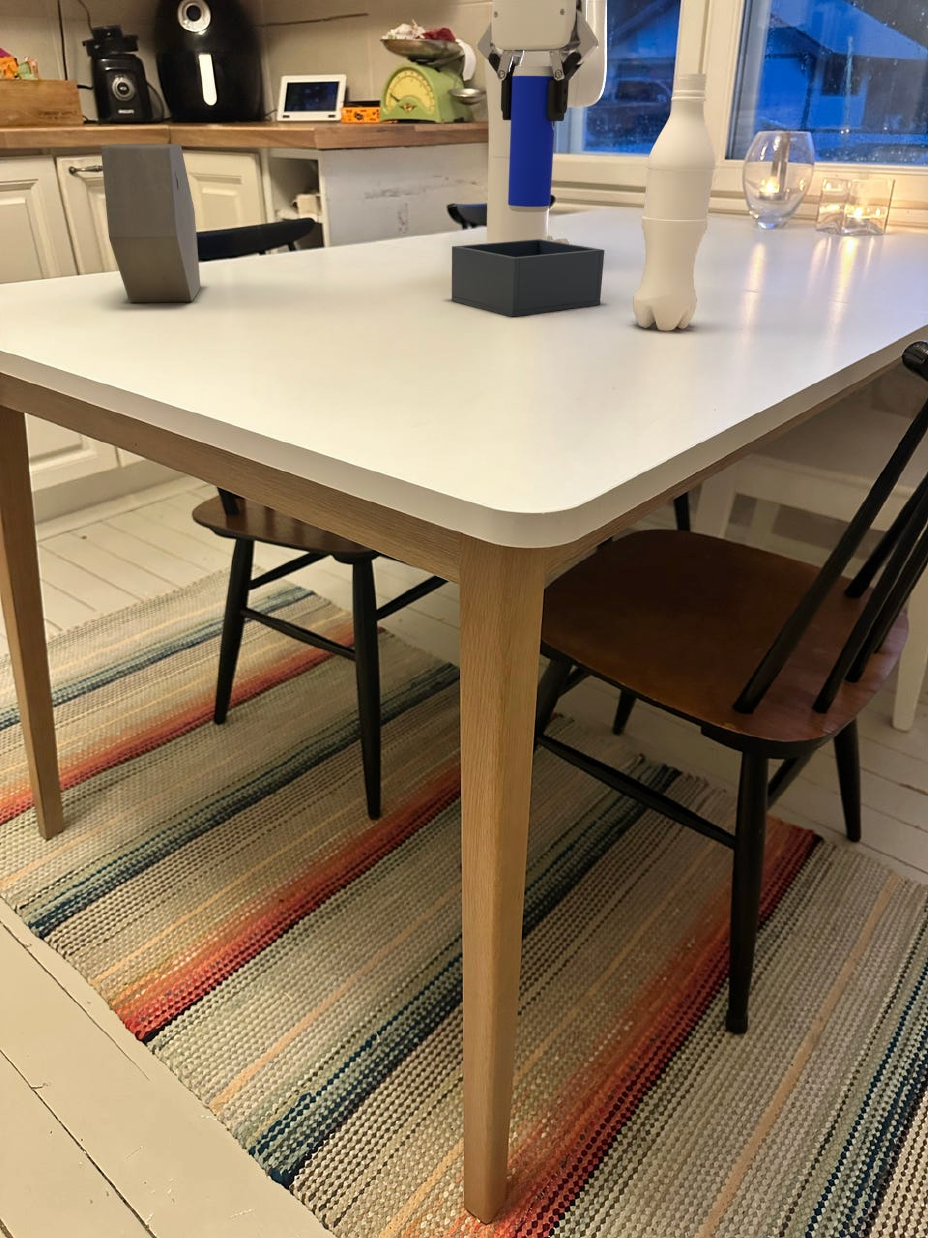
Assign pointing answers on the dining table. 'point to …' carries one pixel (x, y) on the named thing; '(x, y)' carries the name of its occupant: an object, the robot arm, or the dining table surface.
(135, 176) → the planter
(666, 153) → the water bottle
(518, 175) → the beverage can
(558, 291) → the tub
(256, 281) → the dining table surface
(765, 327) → the dining table surface
